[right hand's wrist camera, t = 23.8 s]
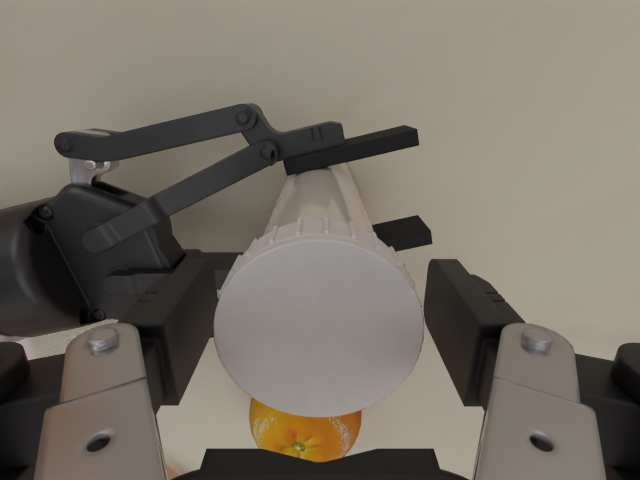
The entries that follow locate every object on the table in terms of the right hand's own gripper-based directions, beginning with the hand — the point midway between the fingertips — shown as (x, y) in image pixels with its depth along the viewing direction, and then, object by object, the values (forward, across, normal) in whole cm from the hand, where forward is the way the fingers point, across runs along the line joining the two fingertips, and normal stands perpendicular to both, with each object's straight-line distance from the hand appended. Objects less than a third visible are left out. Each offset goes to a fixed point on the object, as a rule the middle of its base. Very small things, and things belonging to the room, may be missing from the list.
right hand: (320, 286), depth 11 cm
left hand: (+9, -5, -1) cm, 11 cm away
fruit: (+16, +1, +18) cm, 24 cm away
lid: (-2, 0, 0) cm, 2 cm away
